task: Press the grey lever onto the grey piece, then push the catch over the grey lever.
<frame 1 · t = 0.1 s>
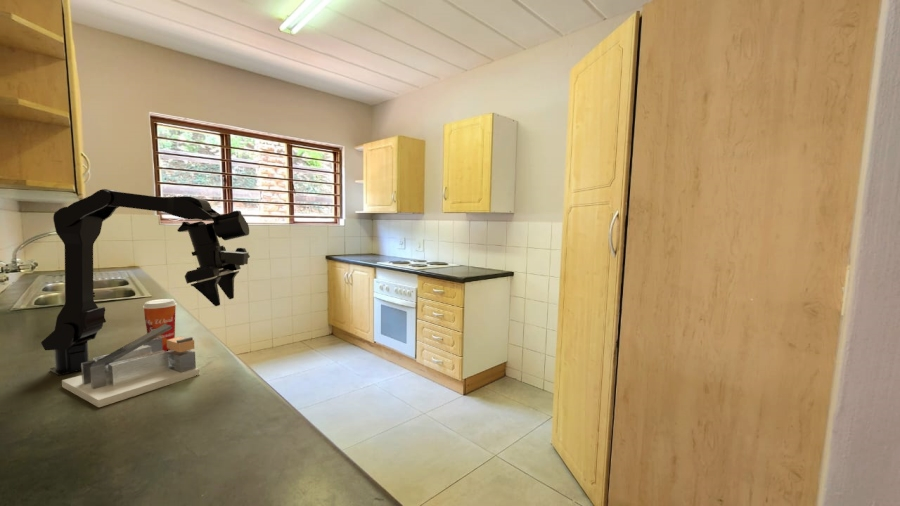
hand: (225, 302, 95), 15 cm above the counter, tool pointing down, fingers open, 9 cm apart
grey piece: (135, 362, 83), on the board, point 4 cm above the counter
grey lever: (133, 345, 82), point 8 cm above the counter, hinge at 22.0°
board: (132, 380, 82), on the counter
paper cup: (162, 349, 104), on the counter
catch: (180, 343, 85), point 8 cm above the counter, slide at 0.0 cm
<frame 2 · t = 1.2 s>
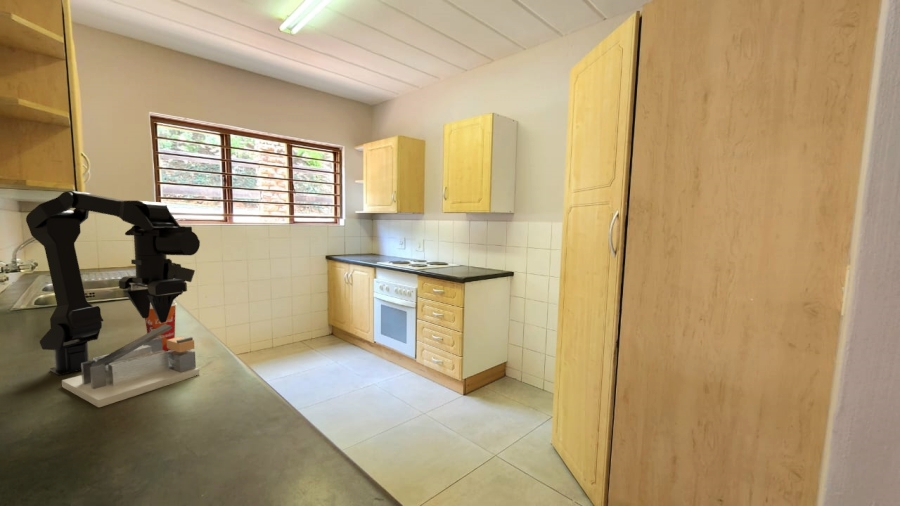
hand: (154, 320, 86), 13 cm above the counter, tool pointing down, fingers open, 8 cm apart
nothing on the counter moved.
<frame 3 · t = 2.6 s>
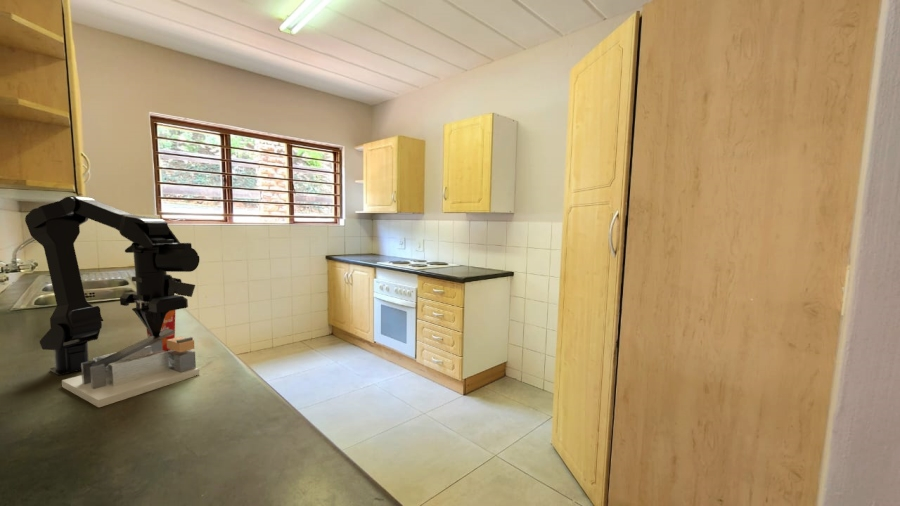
hand: (155, 336, 86), 9 cm above the counter, tool pointing down, fingers closed, pressing on grey lever
grey lever: (135, 347, 83), point 7 cm above the counter, hinge at 16.8°, touching gripper
everything else where it was.
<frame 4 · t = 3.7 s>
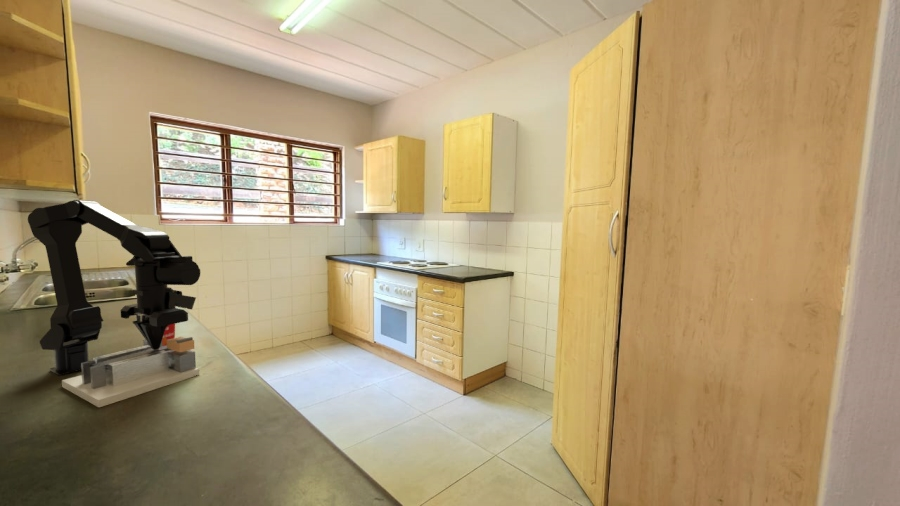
hand: (155, 349, 86), 6 cm above the counter, tool pointing down, fingers closed
grey lever: (138, 355, 83), point 5 cm above the counter, hinge at 1.4°
everything else where it was.
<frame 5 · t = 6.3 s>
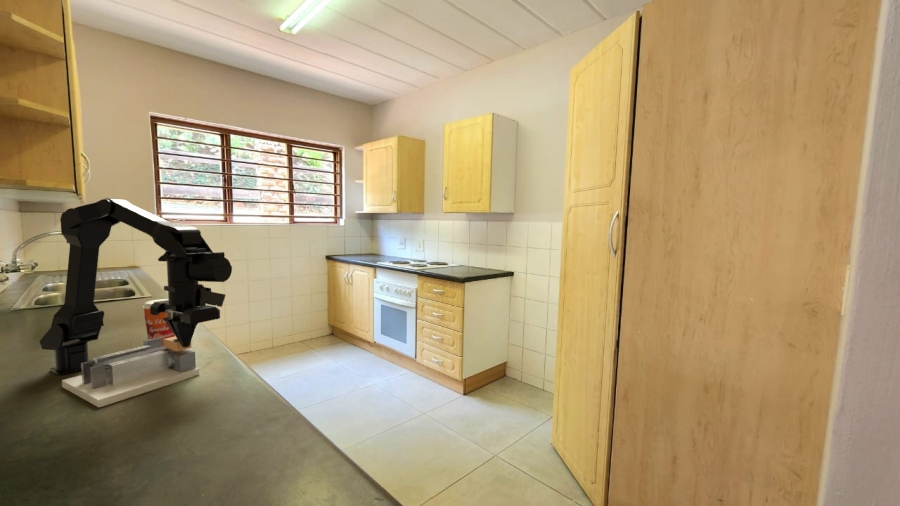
hand: (186, 346, 84), 7 cm above the counter, tool pointing down, fingers closed
catch: (177, 342, 86), point 8 cm above the counter, slide at 1.4 cm, touching gripper
everything else where it was.
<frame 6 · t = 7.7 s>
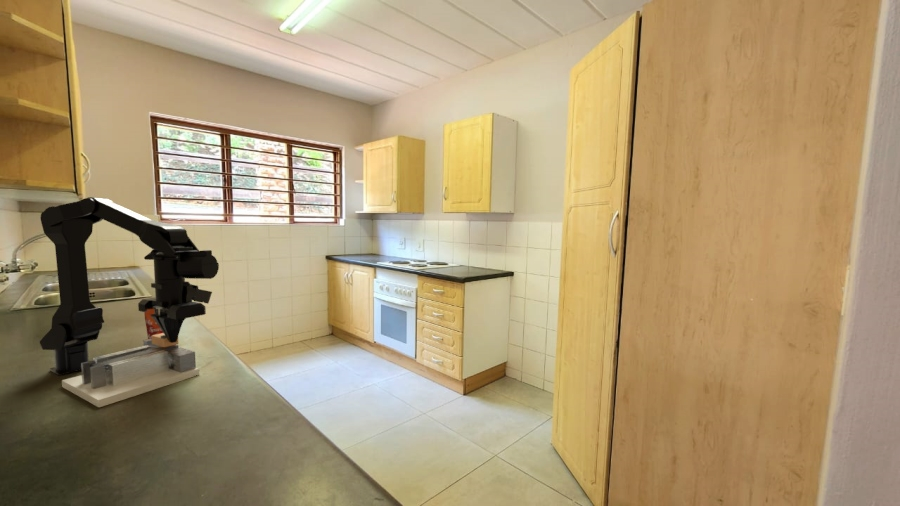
hand: (173, 342, 87), 7 cm above the counter, tool pointing down, fingers closed
catch: (164, 338, 89), point 8 cm above the counter, slide at 7.3 cm, touching gripper
everything else where it was.
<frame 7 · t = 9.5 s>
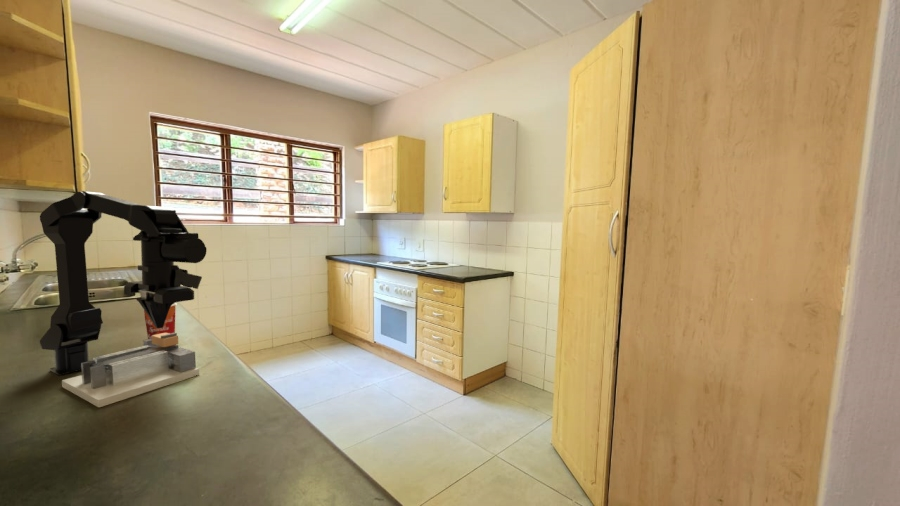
hand: (159, 327, 84), 12 cm above the counter, tool pointing down, fingers closed
catch: (164, 338, 89), point 8 cm above the counter, slide at 7.3 cm
everything else where it was.
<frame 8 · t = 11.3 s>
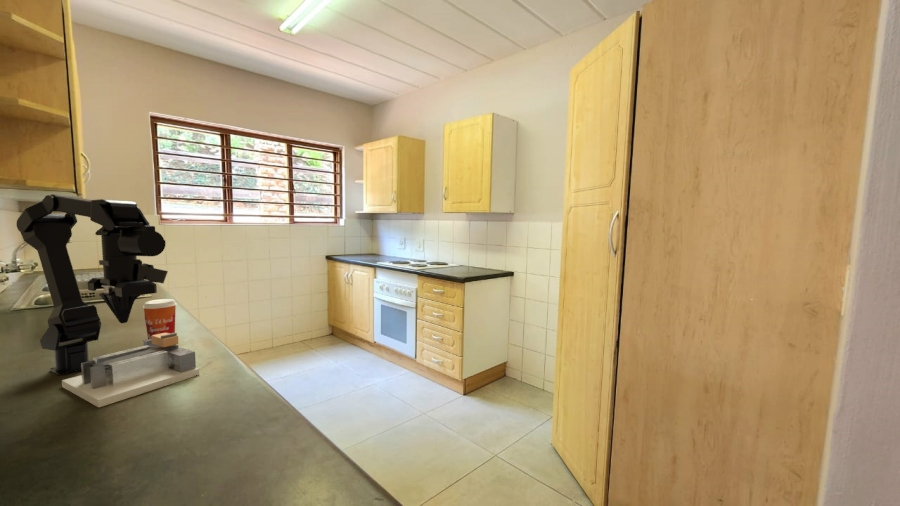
hand: (123, 322, 83), 13 cm above the counter, tool pointing down, fingers closed
nothing on the counter moved.
at the end: grey lever at +1° (first picture: +22°); catch slide at 7.3 cm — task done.
